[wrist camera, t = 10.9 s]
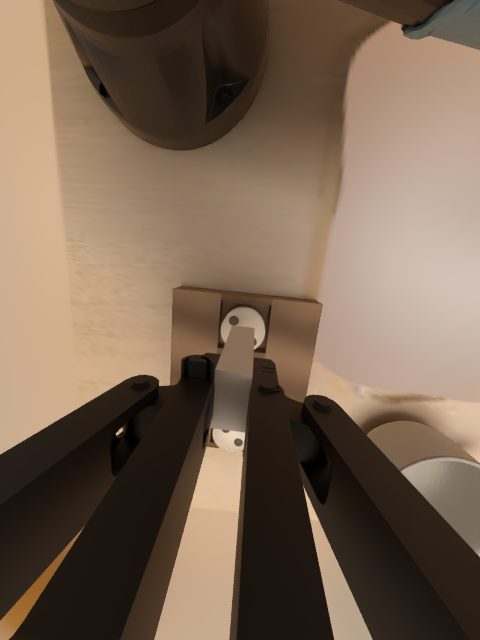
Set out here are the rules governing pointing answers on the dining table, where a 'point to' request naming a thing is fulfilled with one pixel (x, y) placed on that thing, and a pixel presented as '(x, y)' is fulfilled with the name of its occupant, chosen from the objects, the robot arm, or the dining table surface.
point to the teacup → (436, 473)
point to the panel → (278, 344)
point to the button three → (244, 322)
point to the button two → (229, 440)
